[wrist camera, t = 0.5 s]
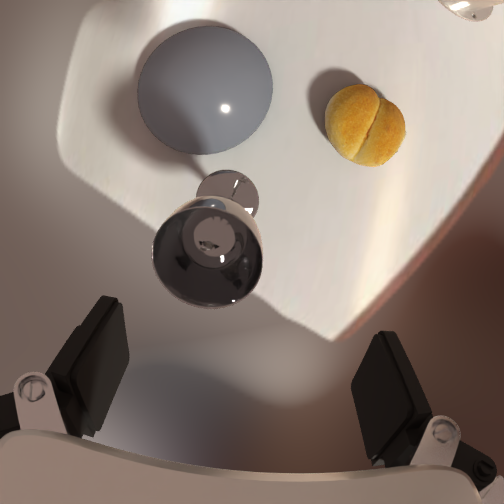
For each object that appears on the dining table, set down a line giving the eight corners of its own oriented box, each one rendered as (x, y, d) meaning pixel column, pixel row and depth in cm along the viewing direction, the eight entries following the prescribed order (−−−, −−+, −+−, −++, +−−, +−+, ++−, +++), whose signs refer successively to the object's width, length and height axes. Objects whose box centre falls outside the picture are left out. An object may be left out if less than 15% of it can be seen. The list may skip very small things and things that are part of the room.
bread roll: (342, 73, 28) (354, 68, 24) (406, 117, 30) (424, 119, 26) (307, 136, 31) (315, 139, 27) (373, 176, 33) (388, 184, 29)
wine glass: (259, 235, 37) (258, 313, 23) (192, 231, 37) (155, 303, 23) (265, 168, 33) (267, 211, 20) (193, 165, 33) (147, 204, 20)
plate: (201, 9, 25) (197, 3, 24) (299, 84, 29) (301, 83, 27) (121, 103, 30) (113, 103, 28) (212, 177, 34) (209, 181, 32)
